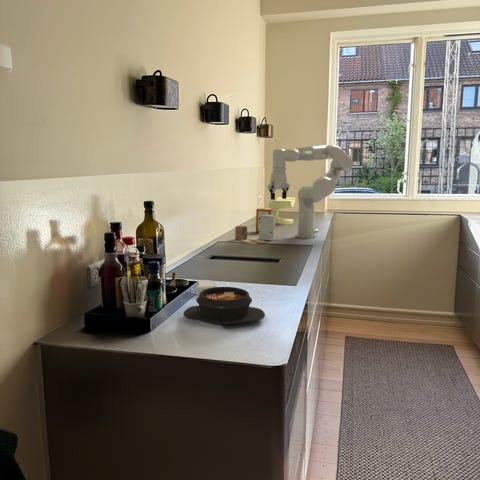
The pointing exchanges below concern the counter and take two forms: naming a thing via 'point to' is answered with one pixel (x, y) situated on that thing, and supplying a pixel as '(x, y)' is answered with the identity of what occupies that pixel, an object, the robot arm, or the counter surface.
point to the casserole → (224, 307)
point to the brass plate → (253, 241)
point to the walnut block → (241, 233)
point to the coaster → (205, 285)
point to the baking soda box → (258, 216)
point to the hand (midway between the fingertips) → (278, 199)
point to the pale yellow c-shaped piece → (280, 204)
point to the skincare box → (267, 227)
